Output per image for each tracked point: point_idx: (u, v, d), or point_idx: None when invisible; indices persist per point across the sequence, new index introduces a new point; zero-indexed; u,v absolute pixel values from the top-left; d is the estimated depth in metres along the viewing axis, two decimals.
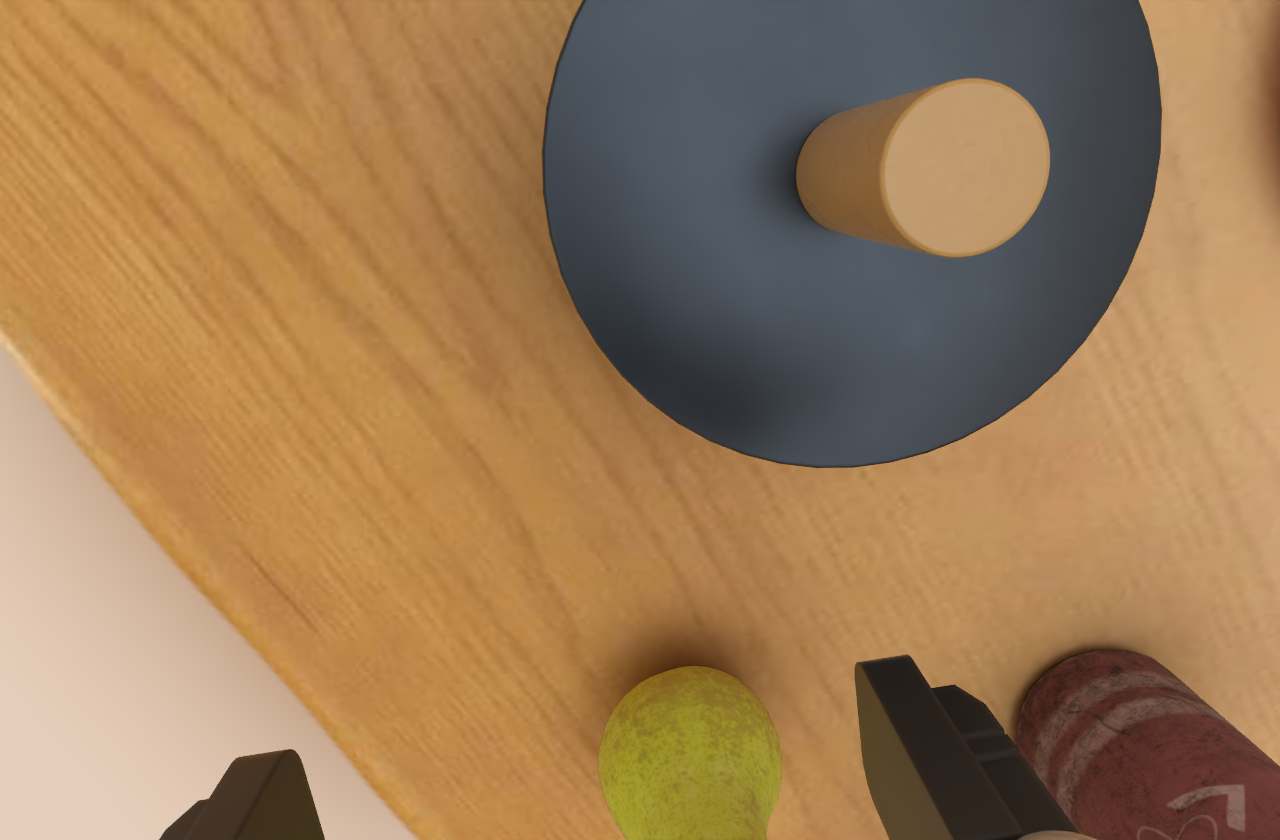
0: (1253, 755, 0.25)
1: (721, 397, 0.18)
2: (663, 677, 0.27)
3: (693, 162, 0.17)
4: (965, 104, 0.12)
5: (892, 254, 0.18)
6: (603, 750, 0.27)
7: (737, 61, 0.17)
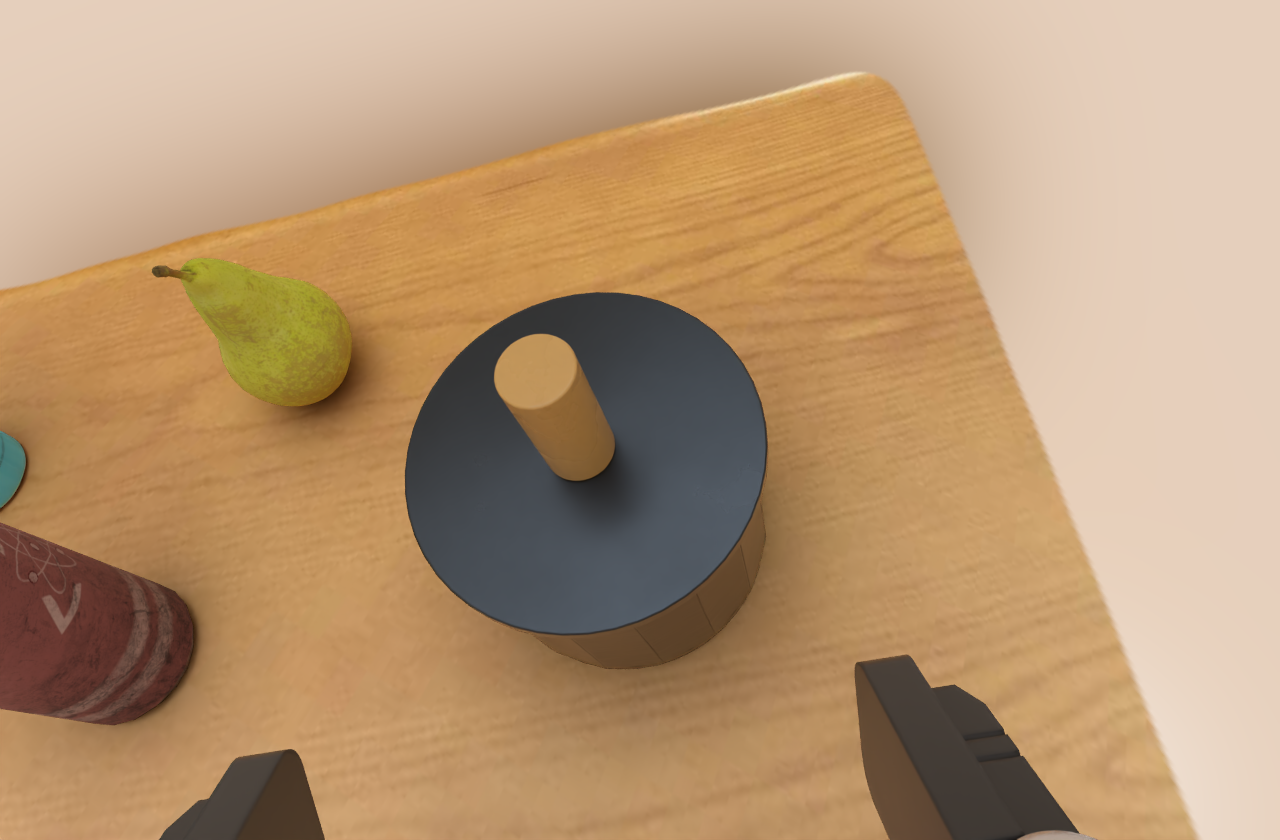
0: (65, 676, 0.32)
1: (495, 350, 0.31)
2: (348, 348, 0.41)
3: (622, 368, 0.30)
4: (563, 374, 0.24)
5: (527, 458, 0.29)
6: None
7: (663, 402, 0.29)
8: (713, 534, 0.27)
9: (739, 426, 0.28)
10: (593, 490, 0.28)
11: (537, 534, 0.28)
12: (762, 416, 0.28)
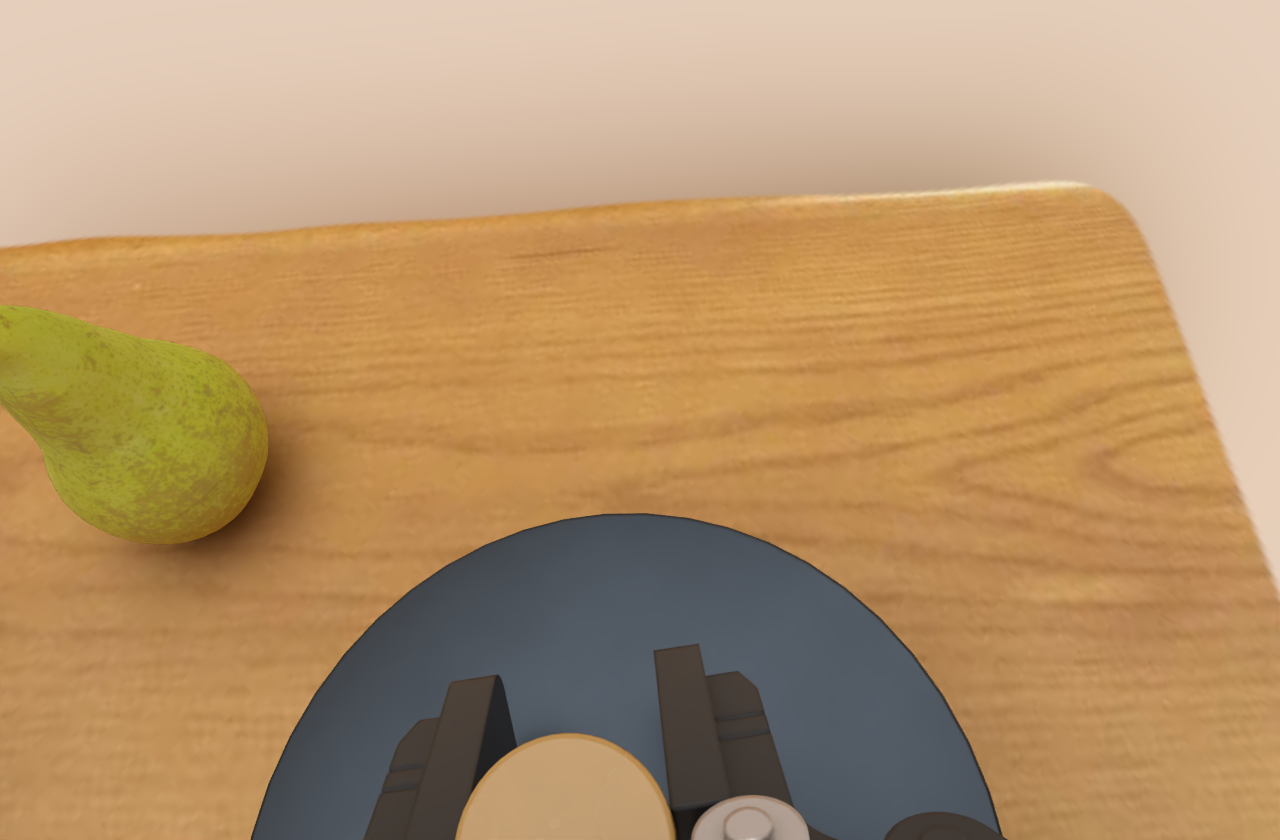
0: None
1: (480, 597, 0.16)
2: (256, 469, 0.26)
3: None
4: None
5: None
6: (239, 376, 0.26)
7: (798, 799, 0.14)
8: None
9: None
10: None
11: None
12: None
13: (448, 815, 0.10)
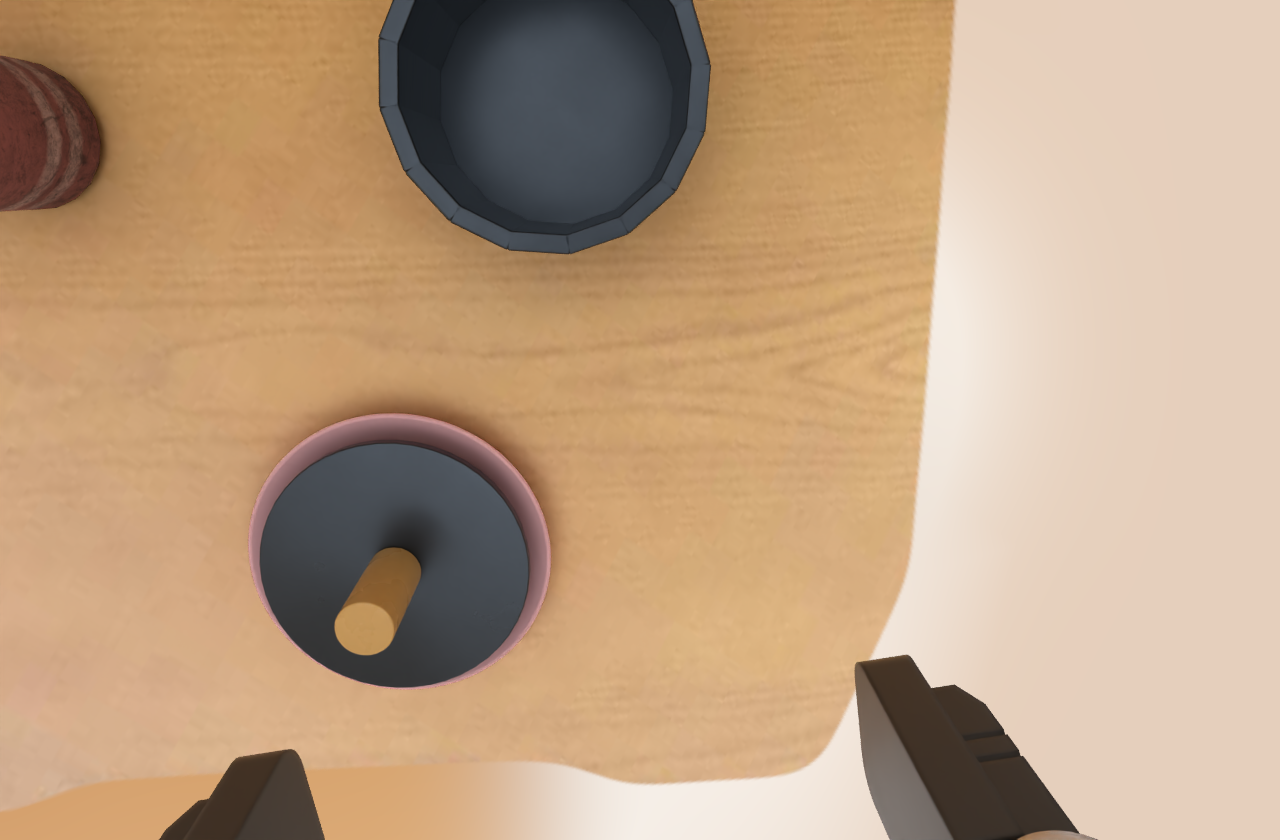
0: None
1: (327, 479, 0.39)
2: None
3: (430, 515, 0.40)
4: (384, 636, 0.35)
5: (355, 570, 0.40)
6: None
7: (458, 548, 0.40)
8: (482, 642, 0.42)
9: (511, 575, 0.41)
10: None
11: None
12: (528, 571, 0.41)
13: None
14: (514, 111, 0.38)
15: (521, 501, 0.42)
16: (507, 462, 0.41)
